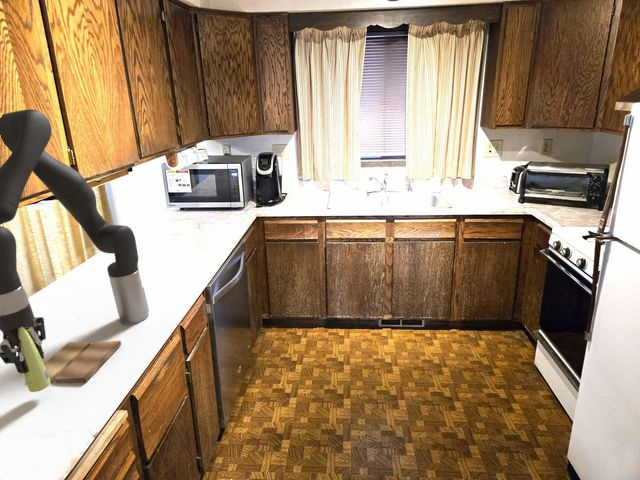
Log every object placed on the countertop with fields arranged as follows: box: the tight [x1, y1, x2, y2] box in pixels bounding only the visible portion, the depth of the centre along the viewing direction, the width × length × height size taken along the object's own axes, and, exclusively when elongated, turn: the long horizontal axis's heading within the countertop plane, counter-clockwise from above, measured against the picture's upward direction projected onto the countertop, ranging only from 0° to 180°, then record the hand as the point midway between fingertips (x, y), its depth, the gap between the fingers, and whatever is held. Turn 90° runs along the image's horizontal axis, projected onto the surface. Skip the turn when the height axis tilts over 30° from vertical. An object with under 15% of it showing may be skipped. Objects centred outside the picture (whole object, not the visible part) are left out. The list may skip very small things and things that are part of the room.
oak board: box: [43, 341, 92, 384], centre depth 129 cm, size 18×8×1 cm, turn 174°
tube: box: [16, 327, 51, 393], centre depth 111 cm, size 6×5×20 cm
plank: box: [54, 340, 122, 384], centre depth 128 cm, size 18×9×1 cm, turn 174°
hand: (32, 365), depth 112 cm, fingers closed on tube, 5 cm apart
